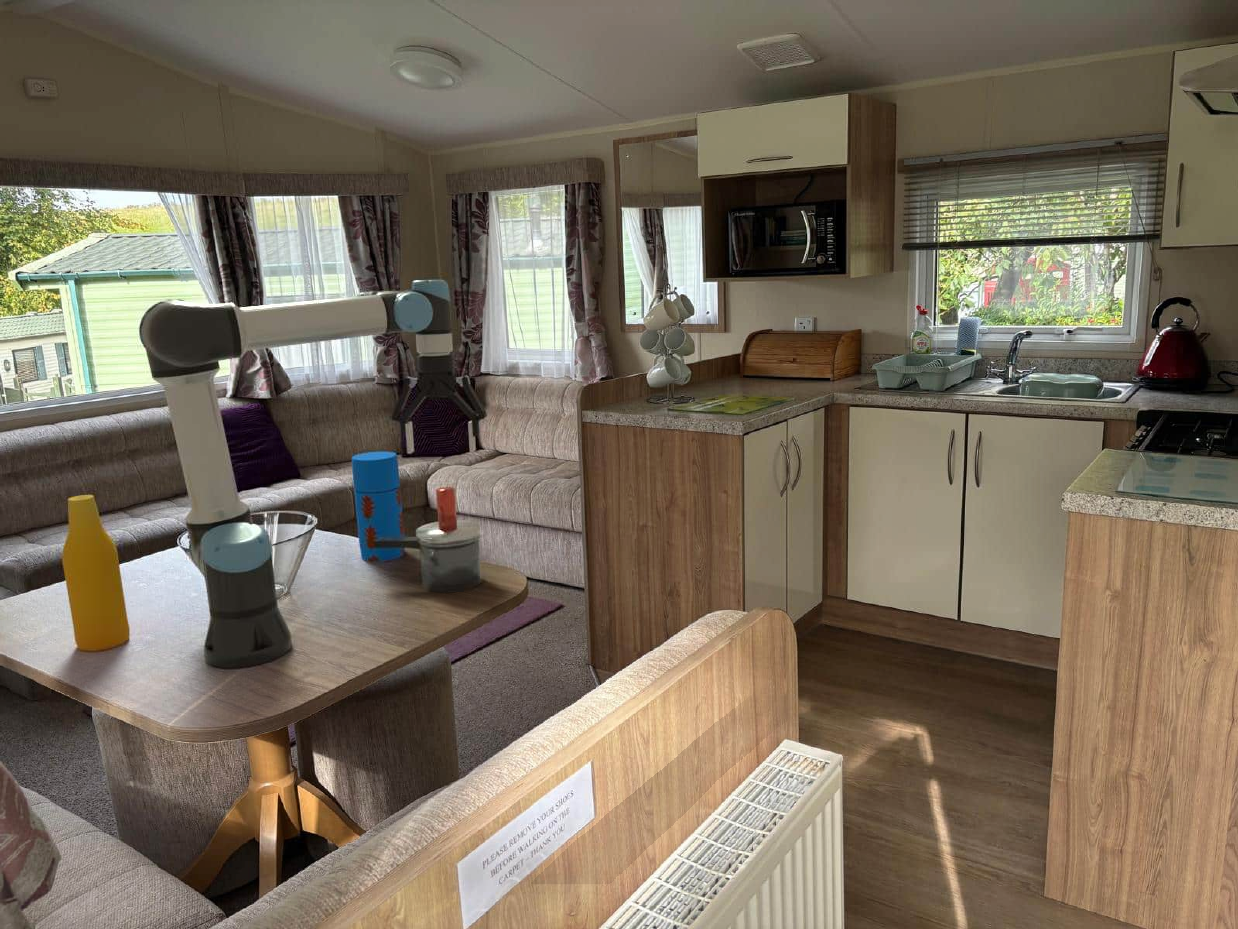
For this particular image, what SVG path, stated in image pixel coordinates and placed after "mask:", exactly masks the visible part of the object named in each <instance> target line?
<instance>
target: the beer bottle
mask: <svg viewBox="0 0 1238 929" xmlns="http://www.w3.org/2000/svg"><path fill="white" fill-rule="evenodd" d="M67 507H68V508H67V510H68V533H67V535H66V539H65V542H64V545H63V549H62V558H61V559H62V560H61V561H62V567H63V571H64V578H65V579H64V580H65V585H66V590H67V596H68V603H69V608H70V615H71V619H72V620H71V621H72V625H73V626H72V627H73V634H74V640H75V644H76V647H77V649H79V650H80V651H83V652H101V650H102V651H106V650H109V649H111V650H112V649H114V648H116V647H119V646H121V645H124V643H126V642H127V641H128V640H129V639H130V632H131V631H130V630H131V629H130V624H129V619H128V614H127V607H126V601H125V596H124V595H125V594H124V588H123V580H122V575H121V569H120V568H121V567H120V562H119V554H118V549H117V546H116V544H115V542H114V541H113V539H112V537H111V536H110V534H109V533H108V532H107V531H106V529H105V528H104V527H103V523H102V521H101V517H100V515H99V514H100V513H99V511H98V506H97V504H96V501H95V496H94V495H92V494H84V495H83V494H82V495H75V496H72V497H69V498H67Z"/></svg>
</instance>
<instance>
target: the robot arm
mask: <svg viewBox="0 0 1238 929" xmlns="http://www.w3.org/2000/svg"><path fill="white" fill-rule="evenodd" d="M411 283H412V285H411V289H408V290H380V291H379V290H377V291H375V290H371V291H362V292H359V293H358V294H357V295H356V296H351V297H350V296H349V297H348V296H347V297H339V298H329V299H318V300H309V301H296V302H288V303H277V304H268V305H267V304H266V305H257V306H256V305H255V306H246V307H238V306H237V305H236V304H234V302H226V303H224V302H223V303H201V302H200V303H199V302H193V301H187V300H184V299H179V298H177V299H170V298H169V299H165V300H160V301H159V302H157V303H154V304H153V305H152V306H150V307H149V308H148V309H147V310H146V311H145V312H144V314H143V315H142V317H141V320H140V322H139V323H140V324H139V328H138V332H139V334H138V335H139V340H140V342H141V344H142V345H143V346H142V347H143V348H144V349H145V352H146V357H147V361H148V364H149V369H150V373H151V378H152V379H153V381H155V382H156V383H158V384H160V385H162V387H163V390H164V395H165V397H166V398H165V399H166V403H167V406H168V411H169V416H170V420H171V424H172V429H173V434H174V437H175V438H174V439H175V441H176V446H177V451H178V455H179V460H180V463H181V468H182V473H183V477H184V478H183V479H184V482H185V487H186V489H187V495H188V499H189V504H190V508H191V509H190V511H189V512H188V513H187V515H186V516H185V518H184V522H185V525H186V529H187V534H188V538H189V540H188V552H189V555H190V558H191V560H192V562H193V563H194V565H195V566H196V567H197V568H198V569H199V571H200V573H201V575H202V576H203V578H204V581H205V588H206V595H207V602H208V604H207V605H208V609H209V610H208V611H209V617H210V618H209V623H208V626H207V631H206V632H207V633H206V636H205V640H204V646H203V652H204V660H205V662H206V664H208V665H210V666H213V667H216V668H224V669H237V668H239V669H240V668H248V667H253V666H257V665H261V664H264V663H268V662H271V661H273V660H276V659H278V658H280V657H282V656H283V655H285V654H287V652H289V651H290V650H291V649H292V646H293V642H292V633H291V630H290V629H289V627H288V624H287V623H286V621H285V619H284V616H283V615H282V612H281V611H280V608H279V606H278V599H277V590H276V583H275V580H276V579H275V574H274V572H275V571H274V564H273V563H274V562H273V555H272V551H273V548H272V547H273V545H272V542H271V540H270V535H269V532H268V531H267V530H266V529H265V528H264V527H263V526H261V525H259V524H256V523H254V522H253V519H252V514H251V510H250V505H248V504H247V503H245V502H243V501H242V500H241V499H240V497H239V493H238V488H237V484H236V483H237V482H236V479H235V474H234V470H233V466H232V465H233V464H232V459H231V456H230V450H229V446H228V442H227V437H226V433H225V427H224V424H223V417H222V414H221V409H220V405H219V400H218V395H217V394H218V393H217V390H216V385H215V381H214V378H215V376H216V375H217V374H218V372H219V371H220V370H221V368H220V361H225V360H231V359H239V358H240V359H241V358H243V357H244V355H245V354H246V353H247V352H248V351H255V350H264V349H273V348H282V347H290V346H296V345H303V344H305V345H306V344H312V343H320V342H321V343H322V342H328V341H337V340H344V339H354V338H360V337H361V338H362V337H368V336H370V337H371V336H376V335H383V334H384V335H385V334H387V335H388V334H395V333H405V332H406V333H415V344H416V352H417V353H418V354H419V355H418V356H417V370H418V371H417V372H418V377H412V376H411V375H410V376H407V377H404V379H403V388H402V391H401V392H400V396H399V398H398V401H397V403H396V405H395V408H394V410H393V412H392V415H391V420H392V421H394V422H398V423H399V424H400V433H401V437H402V438H403V439H405V438H406V453H407V454H411V455H412V453H414V452H415V447H414V445H415V443H414V431H413V421H409V420H410V419H411V417H412V416H413V415H414V414H415V412H416V410H418V408H419V407H420V406H421V404H422V402H424V401H425V399H426V398H427V397H428V398H430V399H435V398H440V399H441V398H442V399H444V398H446V397H448V398H449V399H450V400H452V401H453V402H454V404H456V405H457V408H459V409H460V410H461V411H462V412H463V413H464V414H465V415H466V416H467V417H468V418H469V419H470V421H468V422H467V427H468V444H469V453H470V454H471V453H474V452H475V451H476V450H477V448H476V437H478V436H480V424H479V423H480V421H482V420H484V419H485V418H486V417H488V413H487V411H486V409H485V408H484V406H483V403H481V401H480V399H479V397H478V395H477V394H476V391H475V390H474V388H473V386H472V384H471V378H470V376H469V375H468V374H466V375H464V376H458V377H456V374H455V362H454V361H455V360H454V355H453V354H452V353H451V352H453V351H454V346H453V344H454V343H453V332H452V319H451V317H452V314H451V313H452V312H451V297H450V289H449V284H448V282H447V281H446V280H444V279H423V280H422V279H421V280H420V279H419V280H418V279H417V280H413V281H412V282H411ZM416 384H417V386H418V387H419V388H420V390H421V391H420V392H419V393H418V394H417V397H416V398H415V399H414V400H413V402H412V403H411V404H410V406H409V407H408V408H407V410H406V411H404V409H405V406H406V403H407V402H408V400H409V397H410V394H411V391H412V389H413V388H414V387H415V386H416ZM457 384H459V386H460V387H461V388H463V391H464V392H465V394H466V396H467V398H468V399H469V400H470V403H471V404H472V406H473V408H474V410H475V411H474V410H473V409H472V407H471V406H470V405H469V404H468V403H467V402H466V401H465V400H464V398H463V397H462V396H461V395H459V392H457V390H456V389H455V386H456V385H457ZM403 411H404V414H403ZM402 414H403V415H402Z"/></svg>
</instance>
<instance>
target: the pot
mask: <svg viewBox="0 0 1238 929" xmlns="http://www.w3.org/2000/svg"><path fill="white" fill-rule="evenodd" d="M480 539H481V534H480V535H479V536H478V537H476V538H475V539H472V540H469V541H466V542H461V543H455V544H445V545H435V544H426V543H422V542H419V541H418V540H417V539H416V536H404V537H378V538H377V539H376V540H375V541H374V548H405V549H407V548H409V549H411V548H413V549H414V548H416V549H417V548H419V554H420V557H419V559H420V568H421V581H422V587H423V588H424V589H425V590H427V591H430V592H435V593H456V592H461V591H462V592H463V591H465V590H469V589H470V590H471V589H474V587H477V586H478V585H480V584H481V583H482V581H483V580H482V567H481V565H482V564H481V550H480ZM480 582H481V583H480ZM479 583H480V584H479ZM476 585H477V586H476Z"/></svg>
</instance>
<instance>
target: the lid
mask: <svg viewBox="0 0 1238 929" xmlns="http://www.w3.org/2000/svg"><path fill="white" fill-rule="evenodd" d="M455 491H456V490H455V487H453V486H442V487H438V488H436V489H435V492H436V494H435V495H436V507H437V508H436V509H437V518H438V519H437V521H434V522H430V523H426V524H423V525H421V526H420V527H417V528H416V530H415V537H416V539H417V540H418V541H419V542H422V543H426V544H435V545H445V544H455V543H461V542H466V541H469V540H472V539H475V538H476V537H478V536H479V535H480V536H481V525H480V524H479V523H477V522H475V521H471V520H467V519H465V520H463V519H458V518H457V504H456V492H455Z"/></svg>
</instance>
